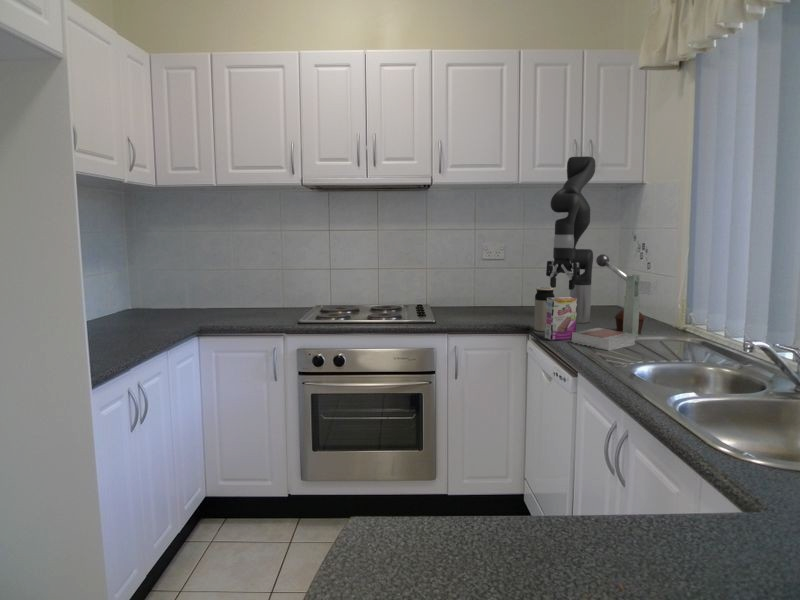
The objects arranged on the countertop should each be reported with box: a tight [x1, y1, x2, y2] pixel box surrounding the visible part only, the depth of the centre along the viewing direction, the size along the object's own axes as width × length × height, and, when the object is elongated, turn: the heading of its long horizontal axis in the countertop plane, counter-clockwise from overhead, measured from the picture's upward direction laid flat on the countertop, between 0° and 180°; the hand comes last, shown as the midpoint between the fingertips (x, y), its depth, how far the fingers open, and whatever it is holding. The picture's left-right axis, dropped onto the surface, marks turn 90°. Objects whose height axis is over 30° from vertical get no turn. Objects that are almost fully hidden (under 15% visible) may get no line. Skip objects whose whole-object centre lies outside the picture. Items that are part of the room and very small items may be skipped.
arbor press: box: [571, 274, 641, 351], centre depth 211 cm, size 16×26×25 cm, turn 125°
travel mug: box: [533, 286, 556, 333], centre depth 236 cm, size 8×8×18 cm
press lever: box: [595, 253, 658, 296], centre depth 218 cm, size 25×5×14 cm, turn 35°
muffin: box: [614, 308, 645, 335], centre depth 229 cm, size 12×11×10 cm
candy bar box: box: [544, 296, 577, 342], centre depth 218 cm, size 11×5×16 cm, turn 108°
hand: (562, 288), depth 216 cm, fingers open, 8 cm apart
